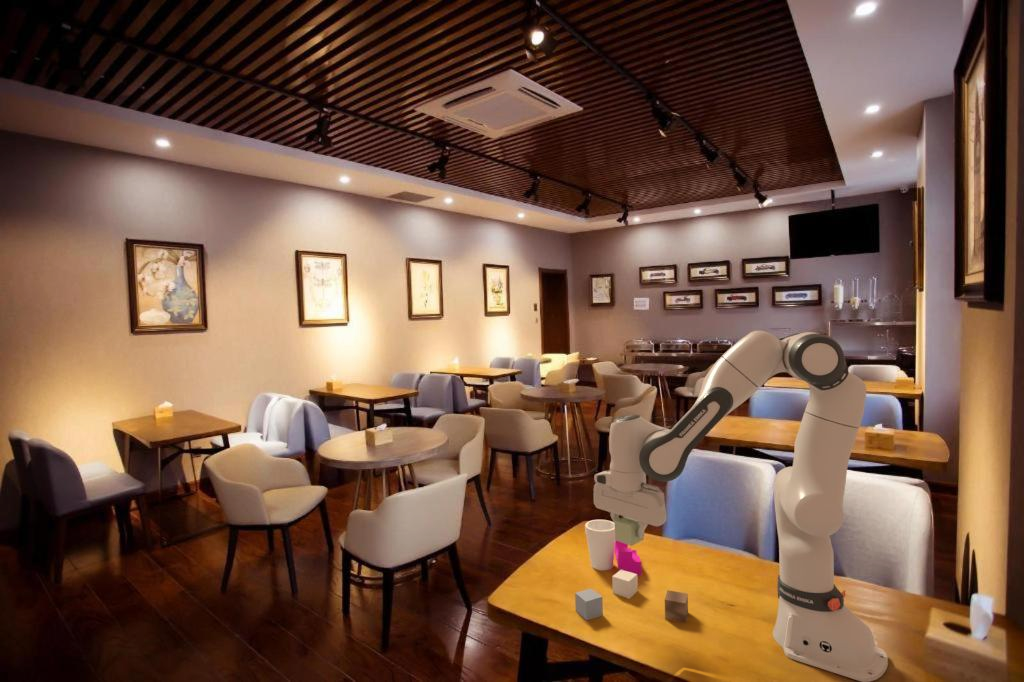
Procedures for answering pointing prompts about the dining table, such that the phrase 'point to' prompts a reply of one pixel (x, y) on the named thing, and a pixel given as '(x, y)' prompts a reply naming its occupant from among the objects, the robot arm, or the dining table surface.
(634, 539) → the cube sage
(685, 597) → the cube walnut
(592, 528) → the foam cup
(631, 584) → the cube offwhite
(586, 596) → the cube slate
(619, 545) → the toy block
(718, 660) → the dining table surface
